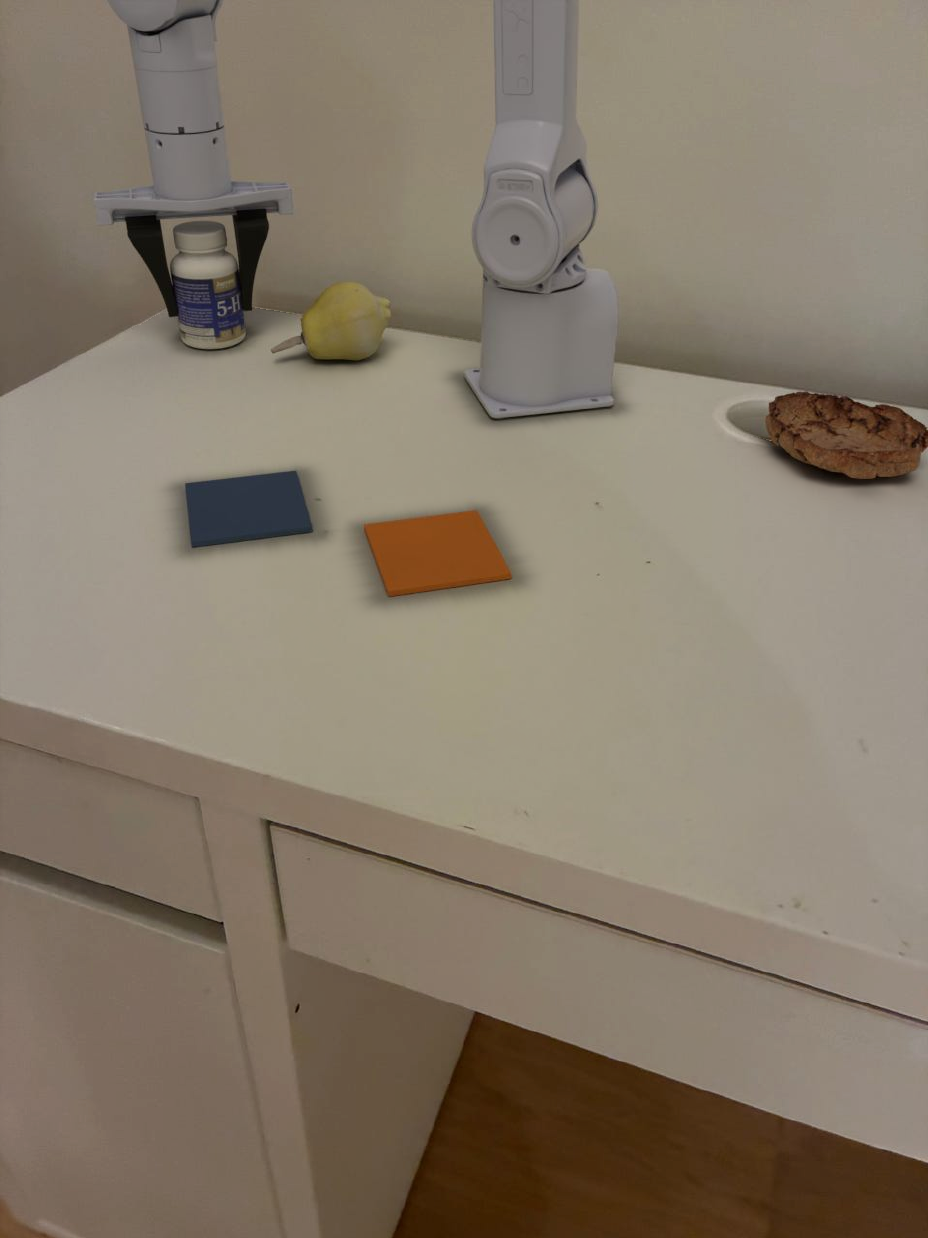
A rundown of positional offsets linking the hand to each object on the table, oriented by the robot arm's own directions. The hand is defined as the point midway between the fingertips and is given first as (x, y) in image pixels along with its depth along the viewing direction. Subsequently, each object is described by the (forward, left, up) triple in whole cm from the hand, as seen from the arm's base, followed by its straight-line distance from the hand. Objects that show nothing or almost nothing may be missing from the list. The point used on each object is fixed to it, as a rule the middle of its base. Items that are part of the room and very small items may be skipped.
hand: (210, 309), depth 81 cm
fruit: (-9, +6, -3) cm, 11 cm away
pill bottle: (0, 0, -3) cm, 3 cm away
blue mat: (0, +28, -2) cm, 28 cm away
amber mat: (-10, +35, -2) cm, 37 cm away
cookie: (-40, +30, +1) cm, 50 cm away
